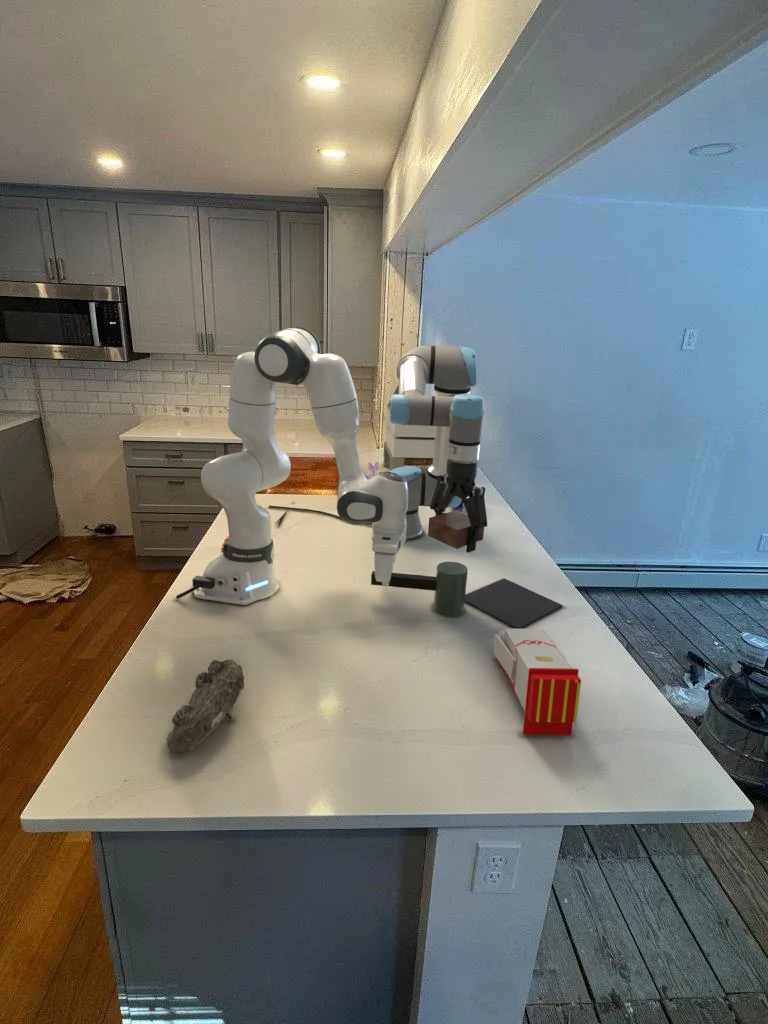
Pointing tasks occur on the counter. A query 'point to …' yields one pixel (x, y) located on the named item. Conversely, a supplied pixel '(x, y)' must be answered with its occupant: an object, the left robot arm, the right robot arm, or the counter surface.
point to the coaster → (511, 603)
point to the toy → (539, 680)
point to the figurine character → (459, 506)
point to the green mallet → (437, 586)
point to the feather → (281, 519)
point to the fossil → (206, 705)
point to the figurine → (372, 470)
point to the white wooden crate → (407, 443)
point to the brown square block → (451, 529)
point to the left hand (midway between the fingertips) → (386, 582)
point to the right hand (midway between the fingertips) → (454, 543)
